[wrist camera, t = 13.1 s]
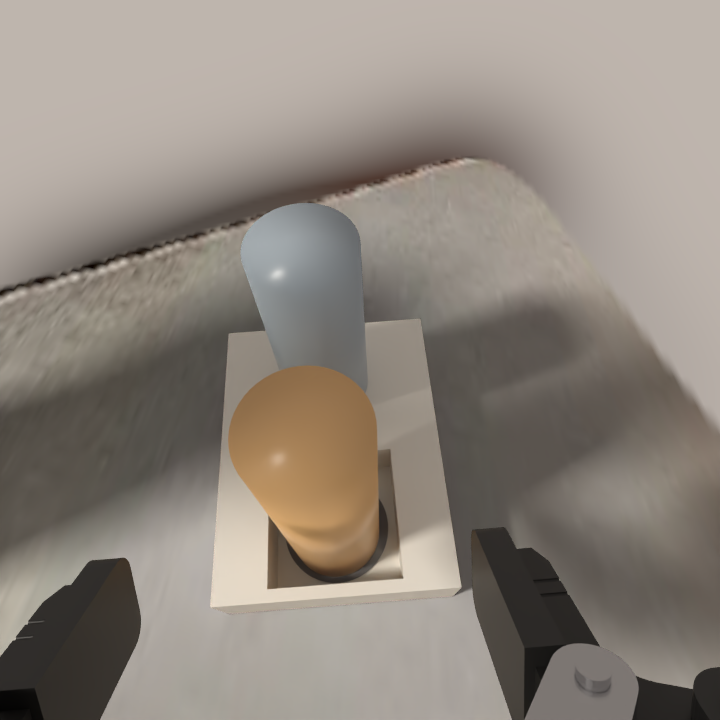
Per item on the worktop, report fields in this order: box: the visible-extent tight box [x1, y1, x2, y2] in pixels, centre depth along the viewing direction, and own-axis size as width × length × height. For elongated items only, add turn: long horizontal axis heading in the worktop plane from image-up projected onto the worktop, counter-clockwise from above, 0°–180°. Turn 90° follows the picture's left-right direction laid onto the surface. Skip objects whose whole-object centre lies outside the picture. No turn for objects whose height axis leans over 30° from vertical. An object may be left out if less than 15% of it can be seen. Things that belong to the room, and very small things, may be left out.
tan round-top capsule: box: [228, 365, 379, 577], centre depth 19 cm, size 4×4×12 cm
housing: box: [210, 203, 462, 614], centre depth 21 cm, size 13×10×13 cm
